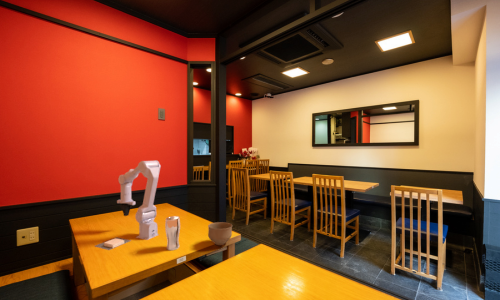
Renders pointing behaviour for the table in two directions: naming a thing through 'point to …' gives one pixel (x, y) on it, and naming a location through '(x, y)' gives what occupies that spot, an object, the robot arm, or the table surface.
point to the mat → (110, 247)
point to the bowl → (220, 232)
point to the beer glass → (172, 232)
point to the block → (114, 243)
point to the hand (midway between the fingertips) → (126, 215)
